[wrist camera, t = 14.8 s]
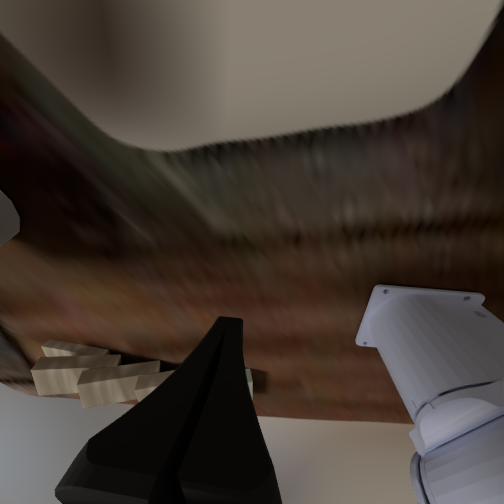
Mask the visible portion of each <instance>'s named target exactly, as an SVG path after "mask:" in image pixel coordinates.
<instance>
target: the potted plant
mask: <svg viewBox="0 0 504 504" xmlns="http://www.w3.org/2000/svg"><path fill="white" fill-rule="evenodd" d="M19 232H20V217H19V215H18V213H17V211H16V209H15V207H14V205H13V203H12V201H11V200H10V199H9V198H8V197H7V196H6V195H5V194H4V193H3V192H2V191H1V190H0V247H1V246H2V245H3V244H5V243H6V242H7V241H9V240H10V239H11V238H13V237H14V236H15V235H16V234H17V233H19Z"/></svg>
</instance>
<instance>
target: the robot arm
mask: <svg viewBox="0 0 504 504" xmlns="http://www.w3.org/2000/svg"><path fill="white" fill-rule="evenodd" d="M386 289H387V290H386ZM384 290H386V291H384ZM484 300H485V296H483V295H482V294H481V293H474V292H462V291H450V290H438V289H427V288H415V287H403V286H391V285H376V286H375V287H374V289H373V292H372V295H371V297H370V300H369V303H368V306H367V309H366V311H365V314H364V317H363V320H362V322H361V325H360V328H359V331H358V334H357V336H356V339H355V341H356V344H357V345H360V346H368V347H377V349H378V351H379V353H380V355H381V357H382V359H383V361H384V363H385V365H386V367H387V369H388V371H389V373H390V375H391V377H392V379H393V381H394V383H395V385H396V388H397V390H398V392H399V394H400V396H401V398H402V400H403V402H404V404H405V406H406V408H407V410H408V412H409V414H410V416H411V418H412V420H413V422H414V424H415V427H414V429H413V430H411V431H410V432H409V435H410V437H411V439H412V441H413V443H414V446H415V448H416V450H417V452H416V453H415V454H414V455H413V457H412V459H411V463H410V474H411V481H412V485H413V489H414V493H415V496H416V499H417V502H418V504H504V323H503V322H502V321H501V320H499V319H498V318H497V317H496V316H494V315H493V314H492V313H490V312H489V311H488V310H487V309H485V308H484V307H483V306H481V305H482V303H483V302H484ZM242 346H243V320H242V319H241V318H232V317H223V316H219V317H218V318H217V320H216V321H215V323H214V324H213V326H212V327H211V328H210V330H209V331H208V333H207V334H206V335H205V336H204V338H203V339H202V340H201V341H200V343H199V344H198V345H197V346H196V348H195V349H194V350H193V351H192V352H191V353H190V355H189V356H188V357H187V358H186V359H185V360H184V361H183V362H182V363H181V364H180V365H179V367H178V368H177V369H176V370H175V371H174V372H173V373H172V374H171V375H169V376H168V377H167V378H166V379H165V380H164V381H163V382H162V383H161V384H160V385H159V386H158V387H156V388H155V389H154V390H153V391H152V392H151V393H150V394H148V395H147V396H146V397H145V398H144V399H142V400H141V401H140V402H139V403H137V404H136V405H135V406H134V407H133V408H131V409H130V410H129V411H127V412H126V413H125V414H124V415H122V416H121V417H120V418H118V419H117V420H115V421H114V422H113V423H111V424H110V425H109V426H107V427H106V428H104V429H103V430H101V431H100V432H99V433H97V434H96V435H94V436H93V437H92V438H90V439H89V440H88V442H87V443H86V444H85V446H84V447H83V448H82V450H81V451H80V452H79V454H78V455H77V457H76V458H75V459H74V461H73V462H72V464H71V466H70V467H69V468H68V470H67V472H66V473H65V475H64V476H63V478H62V479H61V481H60V482H59V484H58V485H57V487H56V489H55V496H56V497H57V499H58V500H59V501H60V502H61V503H62V504H282V500H281V496H280V491H279V487H278V483H277V479H276V475H275V470H274V466H273V463H272V460H271V458H270V455H269V452H268V449H267V446H266V444H265V441H264V438H263V435H262V432H261V429H260V425H259V422H258V419H257V415H256V412H255V408H254V405H253V401H252V397H251V393H250V389H249V385H248V380H247V376H246V370H245V364H244V358H243V349H242Z"/></svg>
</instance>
